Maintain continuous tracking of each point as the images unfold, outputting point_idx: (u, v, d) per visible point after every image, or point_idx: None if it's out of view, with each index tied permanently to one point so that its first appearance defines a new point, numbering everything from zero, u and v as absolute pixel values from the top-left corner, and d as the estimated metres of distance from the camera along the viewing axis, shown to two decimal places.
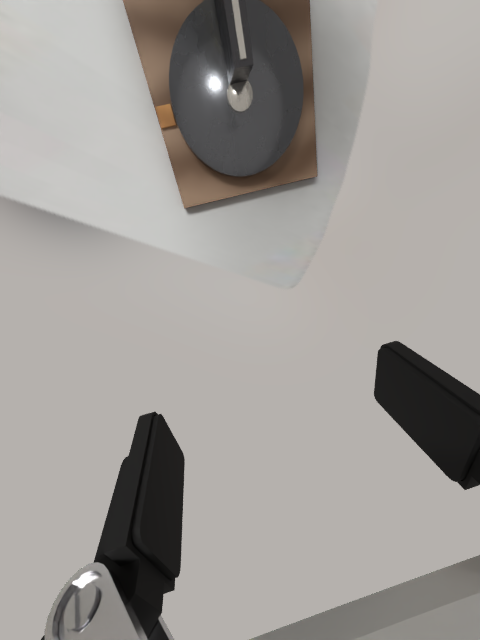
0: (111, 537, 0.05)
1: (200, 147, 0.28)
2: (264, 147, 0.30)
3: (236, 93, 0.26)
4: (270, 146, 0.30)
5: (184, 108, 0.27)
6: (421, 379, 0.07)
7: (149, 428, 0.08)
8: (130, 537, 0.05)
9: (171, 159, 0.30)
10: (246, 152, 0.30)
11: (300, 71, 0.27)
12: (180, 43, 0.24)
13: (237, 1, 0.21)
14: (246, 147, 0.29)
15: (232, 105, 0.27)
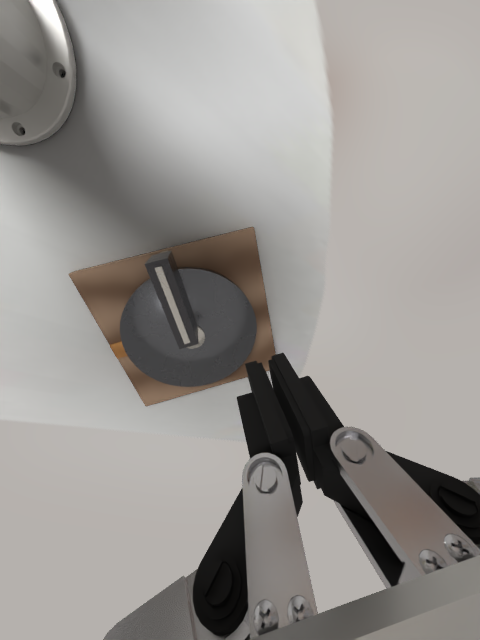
0: (271, 435, 0.07)
1: (156, 373, 0.29)
2: (220, 364, 0.30)
3: None
4: (226, 363, 0.30)
5: (137, 350, 0.27)
6: (283, 389, 0.08)
7: (259, 370, 0.09)
8: (286, 435, 0.07)
9: (129, 376, 0.30)
10: (203, 370, 0.30)
11: (252, 311, 0.28)
12: (129, 310, 0.25)
13: (177, 310, 0.21)
14: (202, 367, 0.30)
15: None
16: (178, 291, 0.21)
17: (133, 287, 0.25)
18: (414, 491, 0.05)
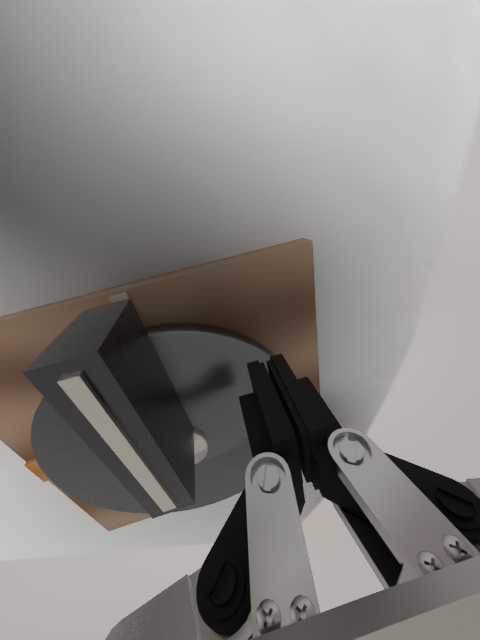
0: (274, 435, 0.07)
1: (118, 503, 0.16)
2: (234, 476, 0.17)
3: None
4: (244, 474, 0.17)
5: (77, 477, 0.14)
6: (281, 390, 0.08)
7: (261, 370, 0.09)
8: (288, 435, 0.07)
9: (73, 498, 0.17)
10: (204, 487, 0.17)
11: None
12: (46, 417, 0.12)
13: (139, 462, 0.08)
14: (203, 484, 0.17)
15: None
16: (140, 422, 0.08)
17: None
18: (411, 493, 0.05)
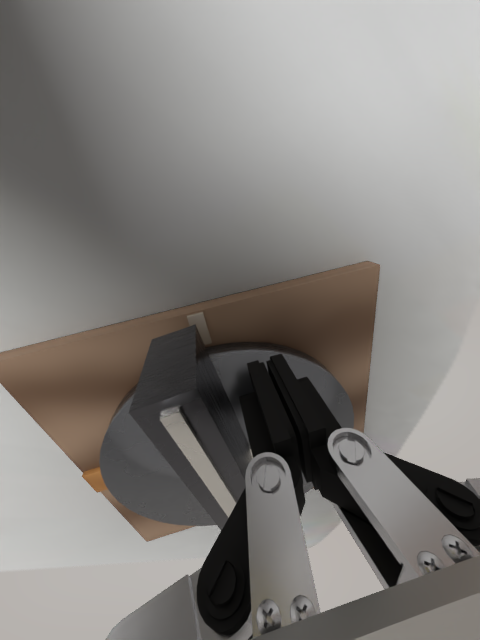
0: (274, 434, 0.07)
1: (176, 517, 0.16)
2: None
3: None
4: None
5: (139, 494, 0.15)
6: (281, 390, 0.08)
7: (261, 370, 0.09)
8: (289, 435, 0.07)
9: (120, 509, 0.17)
10: None
11: (349, 406, 0.14)
12: (114, 440, 0.12)
13: (223, 486, 0.09)
14: None
15: None
16: (226, 450, 0.08)
17: (129, 381, 0.12)
18: (411, 493, 0.05)
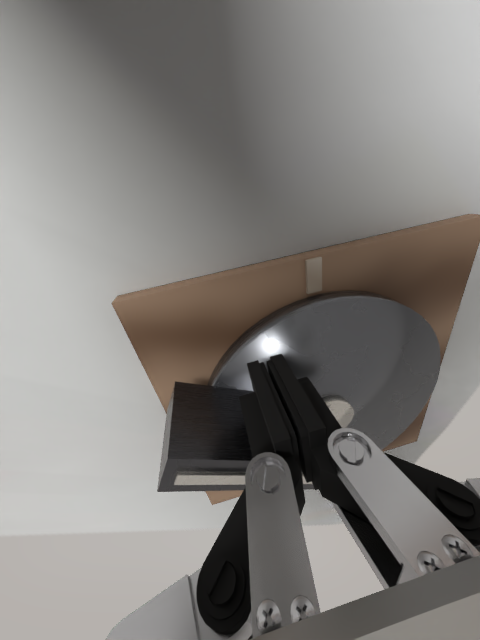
0: (274, 434, 0.07)
1: None
2: (405, 396, 0.16)
3: None
4: (412, 388, 0.15)
5: None
6: (281, 390, 0.08)
7: (261, 370, 0.09)
8: (289, 435, 0.07)
9: None
10: (386, 420, 0.17)
11: (380, 303, 0.12)
12: None
13: None
14: (382, 419, 0.17)
15: None
16: (246, 461, 0.09)
17: (237, 329, 0.13)
18: (411, 493, 0.05)
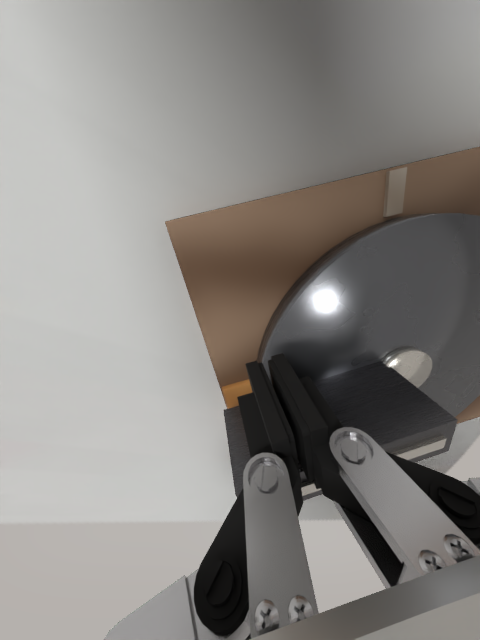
0: (272, 435, 0.07)
1: None
2: None
3: None
4: None
5: None
6: (283, 389, 0.08)
7: (260, 370, 0.09)
8: (287, 435, 0.07)
9: None
10: None
11: (391, 232, 0.09)
12: None
13: None
14: (476, 345, 0.13)
15: (417, 386, 0.13)
16: None
17: (301, 262, 0.11)
18: (414, 491, 0.05)
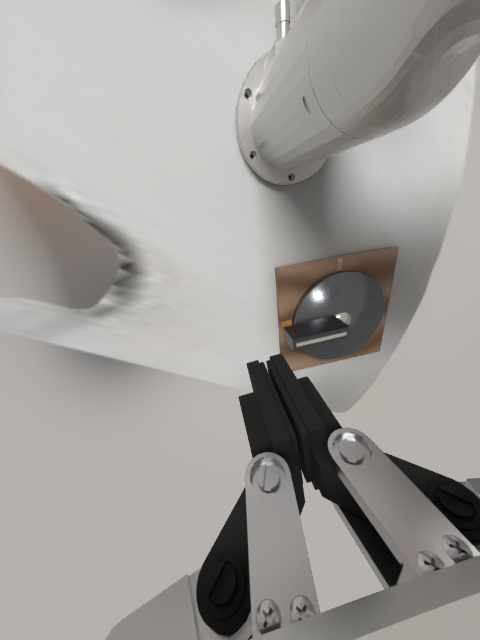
0: (274, 434, 0.07)
1: (358, 343, 0.41)
2: (371, 301, 0.38)
3: None
4: (372, 296, 0.37)
5: (338, 351, 0.41)
6: (281, 390, 0.08)
7: (261, 370, 0.09)
8: (288, 435, 0.07)
9: (282, 347, 0.41)
10: (370, 313, 0.39)
11: (336, 276, 0.35)
12: (311, 352, 0.40)
13: (323, 337, 0.34)
14: (367, 314, 0.39)
15: None
16: (312, 335, 0.34)
17: (311, 282, 0.36)
18: (411, 493, 0.05)
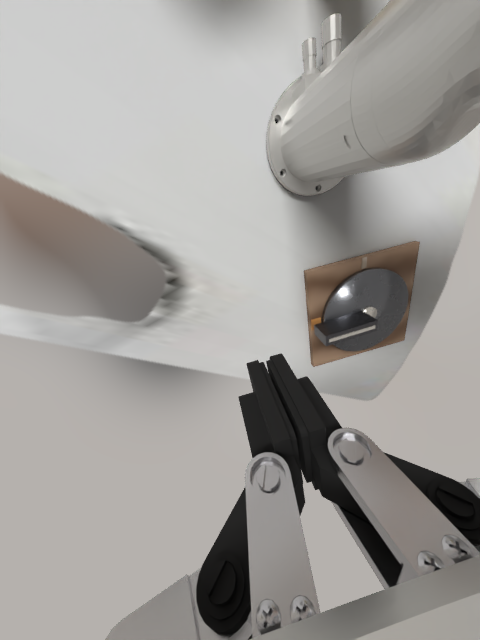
0: (274, 435, 0.07)
1: (385, 334, 0.44)
2: (395, 294, 0.40)
3: None
4: (396, 290, 0.40)
5: (366, 343, 0.44)
6: (281, 390, 0.08)
7: (261, 370, 0.09)
8: (288, 435, 0.07)
9: (312, 343, 0.44)
10: (395, 306, 0.41)
11: (362, 274, 0.37)
12: (340, 346, 0.43)
13: (354, 332, 0.37)
14: (392, 306, 0.41)
15: None
16: (343, 331, 0.37)
17: (338, 281, 0.39)
18: (412, 493, 0.05)
